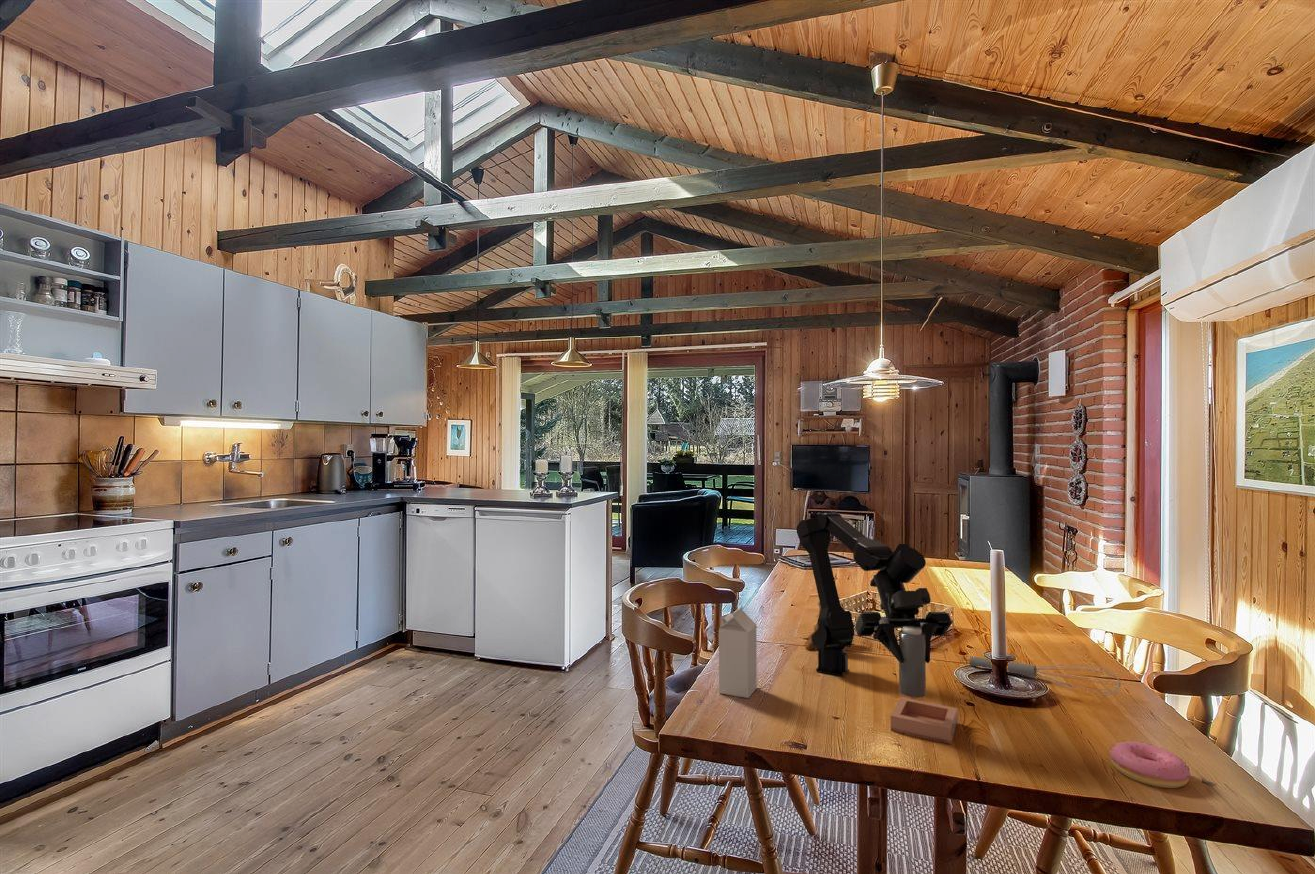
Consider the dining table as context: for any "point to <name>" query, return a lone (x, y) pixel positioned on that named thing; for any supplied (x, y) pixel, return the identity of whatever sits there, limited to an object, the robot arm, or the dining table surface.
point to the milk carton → (738, 655)
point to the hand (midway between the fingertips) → (915, 662)
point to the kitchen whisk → (1031, 671)
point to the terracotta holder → (924, 720)
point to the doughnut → (1149, 764)
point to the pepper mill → (912, 662)
